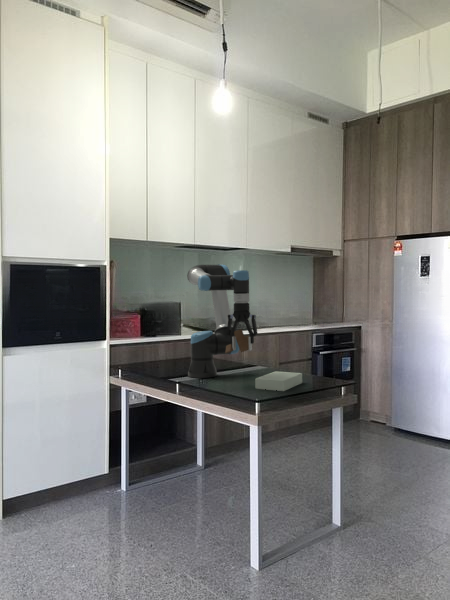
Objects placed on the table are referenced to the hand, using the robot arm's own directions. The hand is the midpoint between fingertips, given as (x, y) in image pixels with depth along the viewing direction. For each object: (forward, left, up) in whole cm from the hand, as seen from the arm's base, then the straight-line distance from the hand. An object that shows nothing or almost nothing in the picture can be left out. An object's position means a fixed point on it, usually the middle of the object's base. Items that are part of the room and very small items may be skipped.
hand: (242, 350), depth 238 cm
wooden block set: (-1, +1, -1) cm, 2 cm away
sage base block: (+18, 0, -17) cm, 24 cm away
